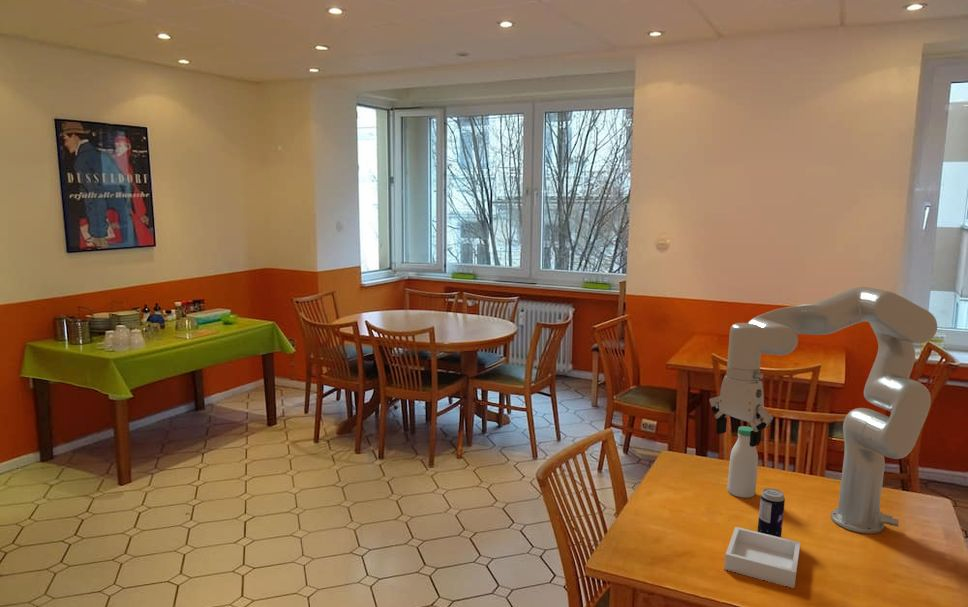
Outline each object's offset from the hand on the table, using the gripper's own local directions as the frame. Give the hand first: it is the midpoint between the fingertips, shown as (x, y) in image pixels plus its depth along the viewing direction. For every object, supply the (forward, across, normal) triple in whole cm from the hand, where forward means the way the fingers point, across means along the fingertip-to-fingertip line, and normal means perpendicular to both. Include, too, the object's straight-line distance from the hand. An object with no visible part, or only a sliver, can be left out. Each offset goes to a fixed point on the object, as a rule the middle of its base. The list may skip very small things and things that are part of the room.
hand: (737, 439), depth 167 cm
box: (+26, -12, +4) cm, 29 cm away
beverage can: (+27, -5, -9) cm, 29 cm away
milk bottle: (+27, +14, -25) cm, 39 cm away
